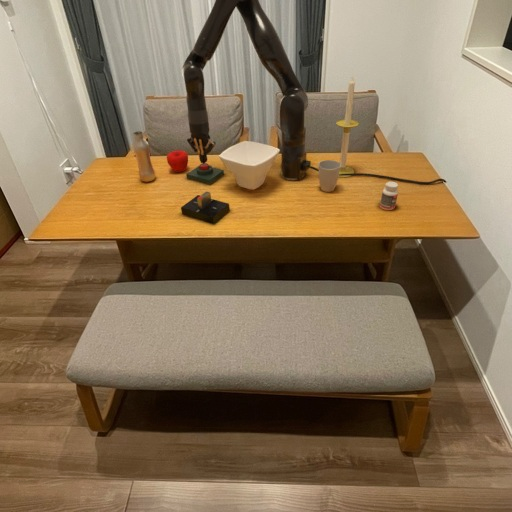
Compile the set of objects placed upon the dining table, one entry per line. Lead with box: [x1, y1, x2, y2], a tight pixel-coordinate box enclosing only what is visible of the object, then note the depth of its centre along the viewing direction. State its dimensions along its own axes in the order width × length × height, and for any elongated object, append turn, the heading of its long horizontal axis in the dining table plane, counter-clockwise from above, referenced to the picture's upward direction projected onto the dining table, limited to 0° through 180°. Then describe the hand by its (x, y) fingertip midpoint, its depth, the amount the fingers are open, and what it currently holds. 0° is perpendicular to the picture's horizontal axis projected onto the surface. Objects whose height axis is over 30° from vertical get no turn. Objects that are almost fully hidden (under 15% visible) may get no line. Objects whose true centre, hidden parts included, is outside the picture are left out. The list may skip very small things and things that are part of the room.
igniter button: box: [199, 162, 210, 170], centre depth 159 cm, size 4×4×2 cm
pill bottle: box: [379, 181, 399, 211], centre depth 135 cm, size 5×5×9 cm
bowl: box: [218, 140, 281, 191], centre depth 150 cm, size 19×19×14 cm
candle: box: [335, 75, 360, 178], centre depth 149 cm, size 10×10×38 cm
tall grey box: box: [197, 191, 212, 210], centre depth 136 cm, size 6×2×4 cm, turn 149°
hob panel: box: [180, 194, 231, 225], centre depth 138 cm, size 14×10×3 cm
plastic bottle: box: [132, 130, 156, 183], centre depth 155 cm, size 6×7×20 cm
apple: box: [166, 150, 189, 173], centre depth 165 cm, size 9×9×8 cm
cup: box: [317, 159, 341, 193], centre depth 147 cm, size 8×8×10 cm
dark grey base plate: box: [185, 164, 225, 186], centre depth 160 cm, size 12×10×4 cm
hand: (203, 162), depth 158 cm, fingers closed
